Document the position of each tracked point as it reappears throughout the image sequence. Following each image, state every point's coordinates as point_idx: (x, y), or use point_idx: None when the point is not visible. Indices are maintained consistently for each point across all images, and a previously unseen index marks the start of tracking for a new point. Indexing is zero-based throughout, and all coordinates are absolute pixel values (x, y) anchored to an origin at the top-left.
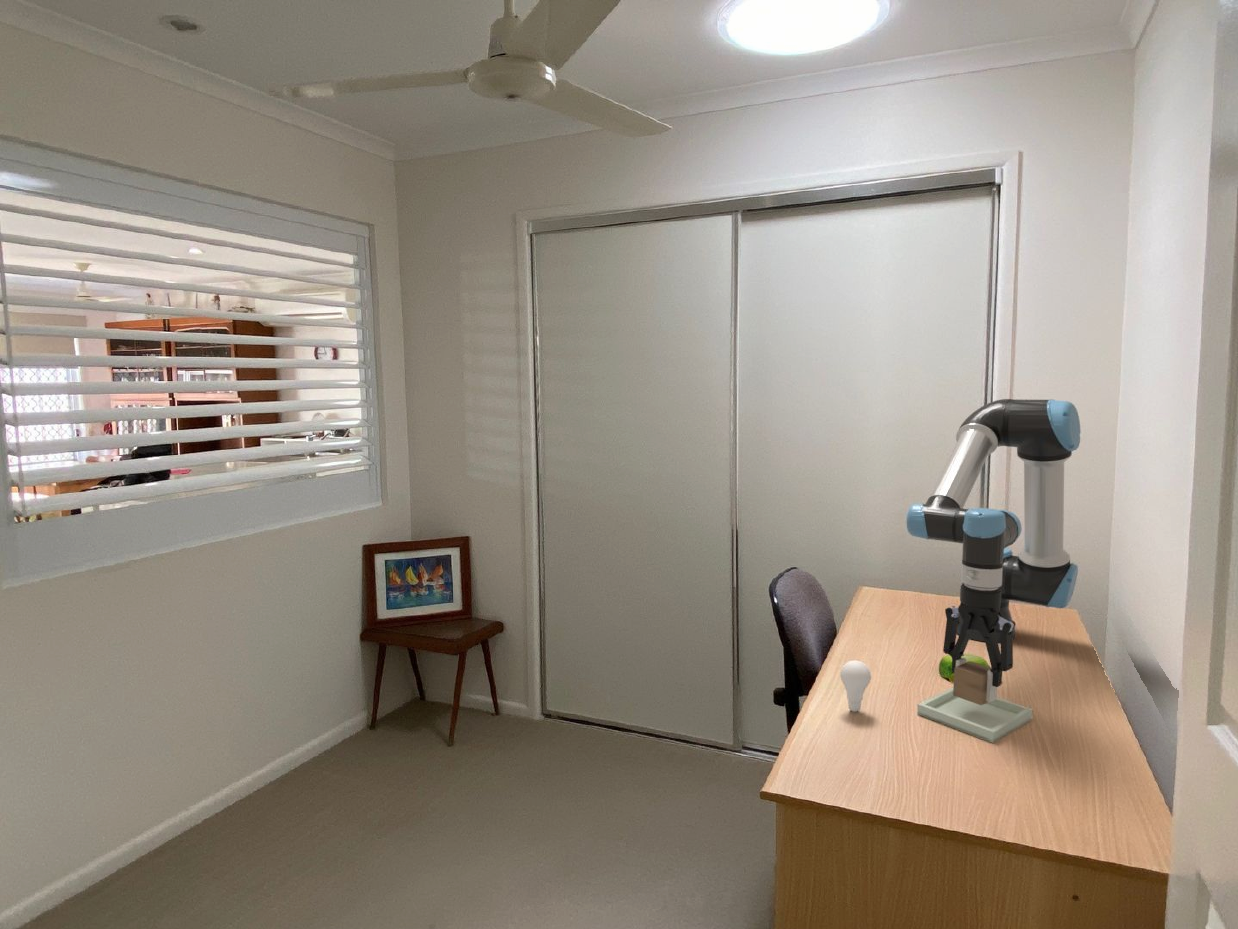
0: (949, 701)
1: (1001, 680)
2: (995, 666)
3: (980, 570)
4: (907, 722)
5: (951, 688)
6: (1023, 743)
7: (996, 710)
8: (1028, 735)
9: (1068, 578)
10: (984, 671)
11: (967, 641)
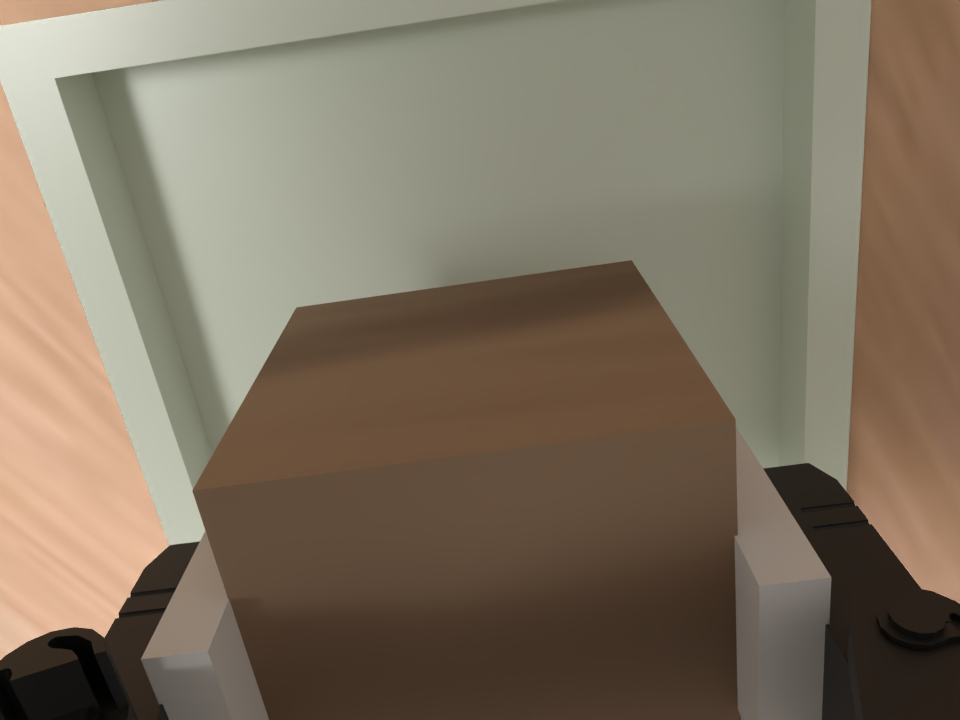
0: (194, 310)
1: (857, 512)
2: None
3: None
4: None
5: (55, 199)
6: (954, 391)
7: (543, 99)
8: (931, 243)
9: None
10: (642, 658)
11: None
